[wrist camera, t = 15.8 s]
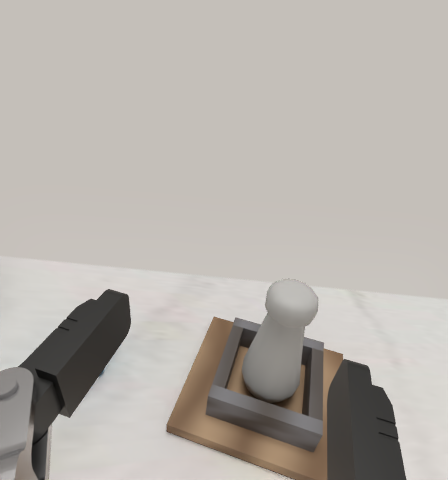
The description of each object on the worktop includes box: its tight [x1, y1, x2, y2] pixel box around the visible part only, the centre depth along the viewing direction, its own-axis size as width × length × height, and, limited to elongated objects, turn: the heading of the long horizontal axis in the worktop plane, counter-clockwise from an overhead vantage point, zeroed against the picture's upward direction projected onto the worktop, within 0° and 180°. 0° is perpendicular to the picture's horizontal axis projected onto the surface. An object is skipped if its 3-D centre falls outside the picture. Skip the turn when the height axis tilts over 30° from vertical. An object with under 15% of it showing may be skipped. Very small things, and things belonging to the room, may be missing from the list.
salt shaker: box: [242, 279, 318, 403], centre depth 29 cm, size 6×6×13 cm
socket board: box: [167, 317, 343, 480], centre depth 32 cm, size 16×14×4 cm
